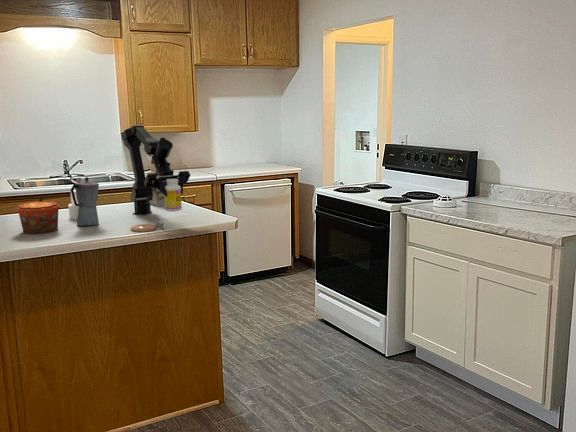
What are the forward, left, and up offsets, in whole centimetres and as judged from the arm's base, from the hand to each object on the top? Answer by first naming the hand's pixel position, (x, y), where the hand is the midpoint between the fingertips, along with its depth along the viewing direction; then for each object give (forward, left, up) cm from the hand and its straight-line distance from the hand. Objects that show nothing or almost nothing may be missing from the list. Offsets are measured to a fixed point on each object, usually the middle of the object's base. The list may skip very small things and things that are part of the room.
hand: (174, 194), depth 230 cm
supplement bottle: (-1, +1, -7) cm, 7 cm away
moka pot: (-37, -9, -13) cm, 41 cm away
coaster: (-10, -8, -13) cm, 19 cm away
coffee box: (-36, +43, -13) cm, 58 cm away
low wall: (-5, -4, -13) cm, 15 cm away
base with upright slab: (-51, +3, -13) cm, 53 cm away
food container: (-48, -24, -13) cm, 56 cm away
